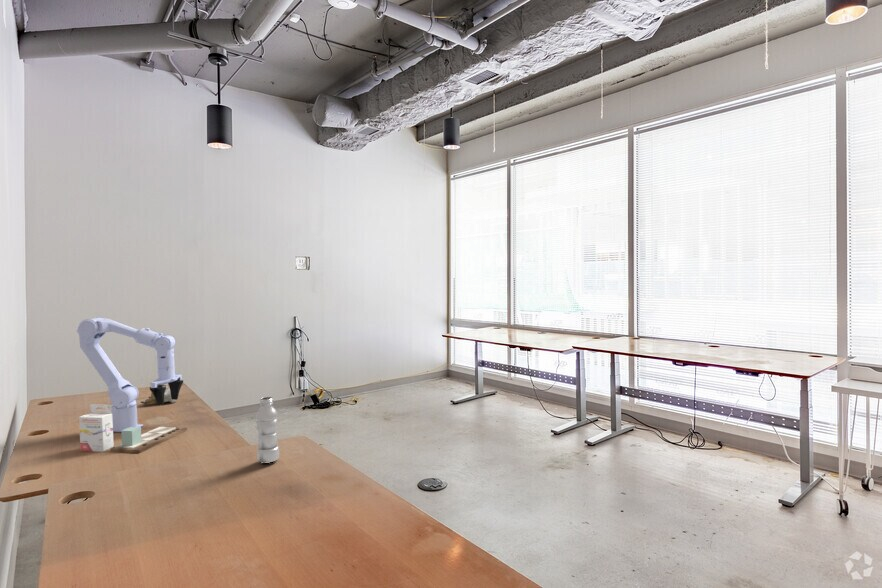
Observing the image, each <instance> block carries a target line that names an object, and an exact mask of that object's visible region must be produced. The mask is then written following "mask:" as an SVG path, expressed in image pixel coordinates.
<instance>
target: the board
mask: <svg viewBox="0 0 882 588" xmlns="http://www.w3.org/2000/svg"><path fill="white" fill-rule="evenodd" d="M186 431H188V427H185V426H162V425H161V426H158V427H156V428H154V429H151V430H149V431H147V432H144V433H141V439H142V442H140V443H138V444H135V445H133V446H127V445H122V443H120V444H117V445H115V446H114V447H112V448H110V449H109V450H110V452H114V453H115V452H116V453H132V454H133V453H135V454H141V453H143V452H145V451H147V450H149V449H151V448H153V447H154V446H157V445H159V444H161V443H163V442H165V441H167V440H170V439H172V438H174V437H176V436H178V435H180V434H182V433H184V432H186Z"/></svg>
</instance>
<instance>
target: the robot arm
mask: <svg viewBox="0 0 882 588" xmlns="http://www.w3.org/2000/svg"><path fill="white" fill-rule="evenodd" d="M111 332H112V333H116V334H119V335H122V336H127V337H129V338H132V339H134V340H135V342H136V343H137V344H141V345H143V346H146V347H150V348H152V349H154V350H155V351H156V354H157V356H156V363H157V378H156V380H153V381H152V382H150V384H149V385H150V386H149V391H150V392H151V393H153V395H154V397H155V399H156V402H157V403H156V405H157V406H163V405H164V404H165V403H164V394H165V390H166V387H162V386H161V385H167V384H168V385H167V386H168V387H169V388H170V392H171V398H172V400H177V401H178V398H179V396H180V390H181V388H182V386H183V384H184V380H183V374H180V373H179V374H178V373H177V374H176V363H175V362H176V361H175V350H174V349H175V346H176V345H177V344H176V343H177V341H176V339H175V337H174V336H172V335H171V334H165V335H164V333H163V332H156V331H154V330H151V328H150V327H146V328H145V327H143V328H140V329H137V328H135V327H132V326H129V325H126V324H123V323H121V322H119V321H116V320H113V319H111V318H106V317H104V316H98V317H93V318H87V319H84V320H82V321H80V322H79V325H78V327H77V329H76V333H78V337H79V347H80V349H81V350H82V352H83V353H84V354H85V356H86V357H87V360H89V362H90V363H91V365H92V367H94V369H95V370H96V372H97V374H98V375H99V376H100V377H101V378H102V380H103V381H104V383H105V384H106V386H107V388H108V389H107V395H108V397H109V400H110V403H111V404H110V405H111V410H112V419H113V433H114V432H115V433H121V431H122V430H124V429H127V428H129V427H141V428H142V427H143V426H144V424H143V423H141V424H140V423H138V409H137V408H138V405H137V399H138V397H139V396H140V392H139V389H138V388H137V387H136V386H134V385H133V384H131V382H130V381H129V380H127V379H125V378H124V377H123V376H122V374H120V372H119V371H118V369H117V368H116V367H115V365H114V363H113V362H112V361H111V359H110V358H109V356H108V355H107V353H106V352H105V351H104V349H103V347H102V346H101V345H100V344H101V341H102V339H103V336H104V335H105V334H106V333H111ZM178 395H179V396H178Z"/></svg>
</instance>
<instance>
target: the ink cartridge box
mask: <svg viewBox="0 0 882 588" xmlns="http://www.w3.org/2000/svg"><path fill="white" fill-rule="evenodd" d="M111 406H112V404H98V403H97V404H92V403H91V404H89V413H87V414H84V415H80V416H79V417H78V422H79V423H78V424H79V443H80V445H79V446H80V449H79V450H80V452H98V453H99V452H100V453H101V452H103V453H104V452H105V451H108V450H110V448H113V447H115V446H114V432H113V419H112V410H111ZM98 408H101V409H98Z"/></svg>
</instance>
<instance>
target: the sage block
mask: <svg viewBox="0 0 882 588" xmlns="http://www.w3.org/2000/svg"><path fill="white" fill-rule="evenodd" d="M120 434H121V444H122V445H127V446H133V445H135V444H138V443H140V442H142V439H141V435H142V426H141V427H129V428H127V429H124V430H122V431H121V432H120Z"/></svg>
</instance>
